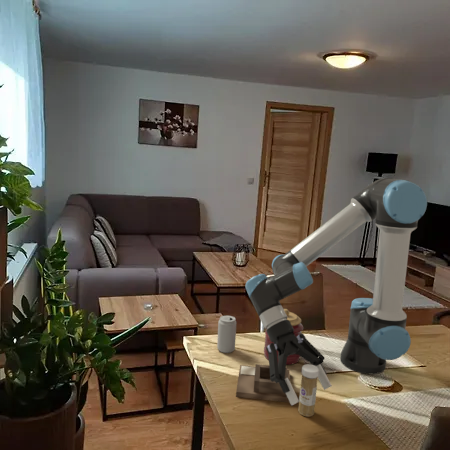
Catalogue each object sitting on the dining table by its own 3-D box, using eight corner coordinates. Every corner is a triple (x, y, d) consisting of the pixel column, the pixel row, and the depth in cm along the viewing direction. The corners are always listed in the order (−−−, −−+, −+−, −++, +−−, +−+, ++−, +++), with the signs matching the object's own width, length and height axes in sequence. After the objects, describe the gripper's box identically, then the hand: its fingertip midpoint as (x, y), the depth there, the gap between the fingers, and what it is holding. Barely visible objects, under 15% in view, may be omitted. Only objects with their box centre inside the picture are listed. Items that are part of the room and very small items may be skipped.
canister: (304, 366, 145) (309, 316, 142) (266, 365, 144) (270, 315, 141) (295, 348, 158) (299, 303, 155) (260, 347, 157) (264, 302, 154)
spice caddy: (288, 374, 139) (290, 360, 138) (291, 402, 123) (292, 386, 122) (239, 369, 140) (240, 355, 140) (235, 396, 125) (236, 380, 124)
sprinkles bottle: (294, 412, 119) (298, 367, 116) (303, 405, 122) (307, 361, 120) (309, 419, 116) (313, 373, 113) (317, 412, 119) (322, 367, 117)
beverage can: (233, 355, 150) (234, 322, 148) (215, 352, 151) (216, 320, 149) (236, 347, 156) (238, 316, 154) (219, 344, 157) (220, 313, 155)
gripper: (298, 321, 136) (332, 386, 127) (238, 339, 120) (272, 415, 111) (312, 310, 131) (349, 377, 122) (252, 328, 115) (288, 406, 106)
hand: (312, 395), depth 116 cm, fingers open, 13 cm apart
